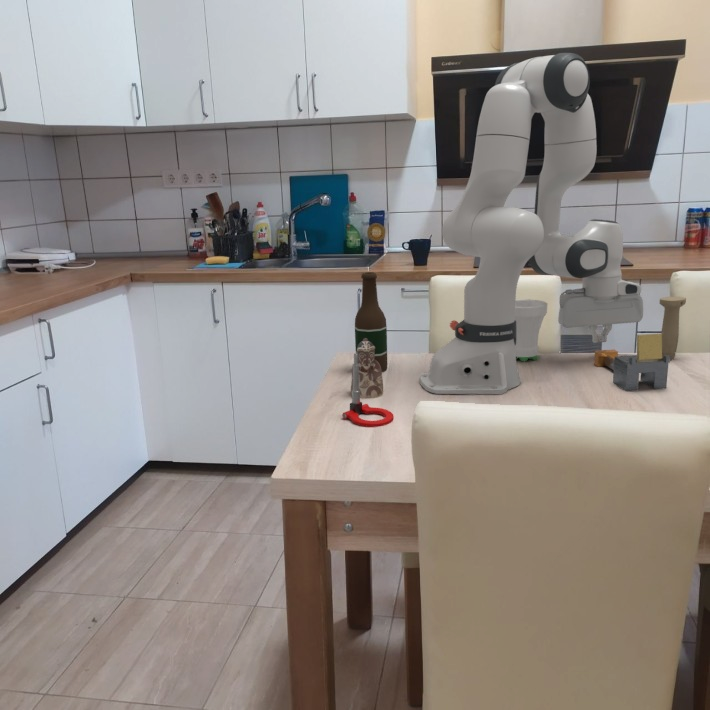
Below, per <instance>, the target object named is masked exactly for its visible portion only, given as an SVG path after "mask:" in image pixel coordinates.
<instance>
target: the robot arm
mask: <svg viewBox="0 0 710 710" xmlns="http://www.w3.org/2000/svg"><path fill="white" fill-rule="evenodd" d="M590 77H591V75H590V70H589V67H588V65H587V63H586V61H585V60H584V58H583V57H582V56H580V55H579V54H578V53H573V52H559V53H556V54H552V55H544V56H536V57H532V58H529V59H525V60H523V61H521V62H515V63H512V64H511V65H508V66H507V67H505V68H504V69H503V70H501V71H500V73H499V74H498V76H497V78H496V80H495V83H494V86H492V87H491V88H489V90H488V91H487V92H486V95H485V97H484V100H483V103H482V106H481V111H480V113H479V118H478V124H477V129H476V137H475V145H474V150H473V151H474V152H473V159H472V166H471V171H470V176H469V178H468V181H467V183H466V187H465V189H464V191H463V194H462V195H461V198H460V200H459V202H458V204H456V206H455V208H454V209H453V210H452V211H450V212H449V213H448V215H447V216H446V217H445V218H444V221H443V223H442V228H441V231H442V232H441V233H442V238H443V242H444V244H445V245H446V247H448V248H449V249H451V250H452V251H454V252H457V253H459V254H461V255H464V256H468V257H476V258H480V259H479V265H478V269H477V271H476V273H475V276H474V277H472V278H471V279H469V280H468V281H467V282H466V284H465V286H464V293H463V295H464V296H463V297H464V300H463V303H464V304H463V306H464V307H463V310H464V311H463V312H464V313H463V319H462V320H461V321H460V322H458V321H457V320H455V319H454V320H451V321H450V323H449V327H450V329H451V330H452V331H454V336H455V337H454V338H452V339H451V340H450V341H449V342H447V343H446V344H445V345H443V346H442V347H441V348H440V349H438V350H437V351H436V352H434V353H433V355H432V357H431V360H430V366H429V371H427V372H423V373H422V374H420V379H419V382H420V385H421V386H422V388H423V389H424V390H426V391H428V392H430V393H433V394H436V395H442V394H443V395H446V394H447V395H451V394H452V395H457V394H458V395H494V394H495V395H502V394H505V393H506V392H508V390H511V389H514V388H515V387H518V386H519V385H520V384H521V382H522V381H521V378H520V375H519V370H518V365H517V359H516V355H515V345H516V340H517V326H516V320H515V300H516V297H517V288H518V283H519V279H520V276H521V274H522V272H523V269H524V267H525V266H526V264H527V263H528V262H529V264H530V265H529V266H530V267H531V269H532V270H533V271H534V272H535V273H536V274H538V275H540V276H556V277H561V278H569V279H582V284H581V285H582V287H581V288H575V289H571V288H570V289H565V291H563V292H561V294H560V295H559V312H558V317H557V318H558V320H557V321H558V324H559V325H560V326H562V327H563V328H565V329H569V328H570V329H571V328H583V327H587V329H588V331H589V332H590V334H591V335H592V337H591V338H592V339H591V340H592V341H591V342H592V343H594V344H598V343H607V338H608V335H609V334H610V332H611V330H612V329H613V327H612V326H613V325H622V324H632V323H633V324H634V323H640V322H641V321H642V319H643V317H644V299H643V297H642V295H640V294H641V293H642V285H640V284H638V283H636V282H632V281H629V280H626V279H623V278H622V277H623V276H622V274H623V272H622V270H621V264H622V263H621V262H622V261H623V257H624V256H623V255H624V251H623V250H624V249H623V248H624V237H623V235H624V234H623V230H622V227H621V224H620V223H618V222H617V221H614V220H610V219H608V220H607V219H600V218H599V219H597V218H593V219H589V220H587V223H586V225H585V226H584V227H583V228H581V230H579V231H578V232H577V233H575V234H572V235H570V236H569V235H562V234H561V232H560V219H561V208H562V200H563V196H564V194H565V193H566V192H567V190H568V189H569V188H570V187H572V186H574V185H576V184H577V183H579V182H580V181H582V180H583V179H585V178H587V176H588V175H589V174H590V173H591V171H592V170H593V169H594V167H595V163H596V159H597V153H598V152H597V150H598V149H597V147H598V145H597V128H596V127H597V126H596V117H595V110H594V107H593V106H594V105H593V102H592V97H591V95H589V89H590V83H591V82H590V79H591V78H590ZM535 113H537V114H541V116H542V118H543V121H544V134H543V135H544V142H543V143H544V154H543V155H544V157H543V164H542V168H541V171H540V173H539V174H538V178H537V182H536V188H535V189H536V190H535V197H534V198H535V201H534V212H531V211H529V210H527V209H523V208H519V207H516V206H505V205H506V202H507V199H508V197H509V195H510V194H511V192H512V191H513V190H514V189H515V188H516V187H517V186H519V185H520V184H521V183H522V181H523V180H524V178H525V176H526V169H527V162H528V161H527V160H528V154H529V147H530V146H529V145H530V139H531V130H532V129H531V128H532V119H533V116H534V115H535ZM598 326H602V328H603V329H602V331H601V333H600V334H599V333H597V331H596V330H598Z"/></svg>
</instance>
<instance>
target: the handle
mask: <svg viewBox="0 0 710 710" xmlns="http://www.w3.org/2000/svg"><path fill="white" fill-rule="evenodd" d="M686 302H687V298H686V297H684V296H677V295H676V296H675V295H674V296H663V297H661V298H659V305H660V306H662V307H663V309H664V311H663V312H664V313H663V318H662V320H663V321H662V328H661V331H660V334H662V358H663V355H668V356H670V359H673V360H674V359H675V357H676V352H677V349H678V343H679V335H680V334H679V332H680V331H679V330H680V327H679V326H680V308H681V307H683V306H685V304H686Z"/></svg>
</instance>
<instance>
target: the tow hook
mask: <svg viewBox="0 0 710 710" xmlns="http://www.w3.org/2000/svg"><path fill="white" fill-rule="evenodd" d="M352 368H353V390H352V394H351V402H350V403H349V410H347V411H345V412H342V418H343V419H344V420H348V419H349V420H351V422H352V423H353V424H355V425H357V426H361V427H365V428H378V427H384V426H387V425H389V424H391V423H393V421H394V418H395V417H394V413H393V412H392V411H390V410H388V409H385V408H383V407H381V408H380V407H371V406H370V405H369V404H368V403H365V404H363V402H362V401H361V398H360V391H359V364H358V354H357V353H356V352H355V353H353V363H352ZM363 413H364V414H366V415H368V414H376V415H381V416H383V417H384V418H381V419H378V420H377V419H376V420H366V419H363V418H360V417H359V416H360V415H361V414H363Z"/></svg>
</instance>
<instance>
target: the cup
mask: <svg viewBox="0 0 710 710" xmlns="http://www.w3.org/2000/svg"><path fill="white" fill-rule="evenodd" d="M547 313H548V303H547V302H546V301H544V300H539V299H530V298H529V299H527V298H525V299H522V298H521V299H520V298H519V299H516V300H515V320H516V326H517V340H516V345H515V355H516V360H517V359H519V360H520V361H521V362H523V361H525V362H527V361H528V360H533V361H535V360H537V359H538V357H539V356H538V355H539V345H538V344H539V343H538V342H539V334H540V329H541V326H542V324H543V321H544V318H545V316H546V315H547Z"/></svg>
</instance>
